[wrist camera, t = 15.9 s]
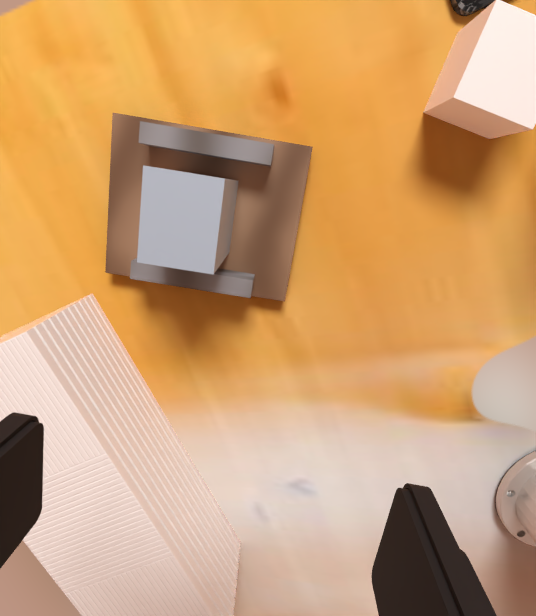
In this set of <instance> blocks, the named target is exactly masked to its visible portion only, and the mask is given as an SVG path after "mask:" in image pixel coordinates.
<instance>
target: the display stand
mask: <svg viewBox="0 0 536 616" xmlns="http://www.w3.org/2000/svg"><path fill="white" fill-rule="evenodd" d="M311 152H312V147H310V146H304V145H299V144H293V143H287V142H281V141H275V140H269V139H264V138H258V137H252V136H246V135H240V134H234V133H228V132H223V131H217V130H211V129H205V128H199V127H193V126H188V125H182V124H176V123H170V122H164V121H158V120H152V119H147V118H141V117H135V116H129V115H123V114H117V113H113V120H112V142H111V164H110V186H109V208H108V229H107V251H106V273H112V274H118V275H124V276H130V279H135V280H141V281H147V282H154V283H160V284H166V285H172V286H178V287H185V288H191V289H197V290H203V291H209V292H216V293H222V294H228V295H234V296H241V297H247V298H251V296H254V297H260V298H267V299H273V300H279V301H285V297H286V291H287V286H288V280H289V275H290V269H291V263H292V258H293V252H294V247H295V241H296V236H297V230H298V224H299V219H300V213H301V208H302V202H303V197H304V191H305V186H306V180H307V174H308V169H309V163H310V158H311ZM143 165H144V166H150V167H157V168H163V169H169V170H176V171H182V172H188V173H194V174H200V175H206V176H212V177H218V178H225V179H231V180H237V181H238V189H237V197H236V204H235V212H234V220H233V227H232V235H231V243H230V251H229V254H228V255H227V257H226V258H225V259H224V261H223V262H222V263H221V265H220V266H219V268H218V269H217V270H216V272H215V273H214V274H207V273H201V272H194V271H188V270H182V269H176V268H169V267H163V266H157V265H150V264H144V263H138V262H137V254H138V238H139V223H140V207H141V192H142V176H143Z"/></svg>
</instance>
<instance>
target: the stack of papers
mask: <svg viewBox="0 0 536 616" xmlns="http://www.w3.org/2000/svg"><path fill="white" fill-rule="evenodd" d="M14 412H16V413H21V414H27V415H32V416H36V417H37V418H38V420H39V423H42V424H43V426H44V447H43V492H42V510H41V514H40V516H39V518H38V520H37V522H36V523H35V525H34V526H33V527H32V528H31V530H30V531H29V532H28V534H27V535H26V536H25V537H24V539H23V541H24V542H25V544H26V545H27V546H28V547H29V549H30V550H31V551H32V553H33V554H34V555H35V557H36V558H37V559H38V560H39V562H40V563H41V564H42V566H43V567H44V568H45V569H46V571H47V572H48V573H49V575H50V576H51V577H52V578H53V579H54V581H55V582H56V584H57V585H58V586H59V587H60V589H61V590H62V591H63V592H64V594H65V595H66V596H67V598H68V599H69V600H70V601H71V603H72V604H73V605H74V607H75V608H76V609H77V610H78V612H79V613H80V614H81V616H234V609H233V608H234V607H235V599H234V598H236V590H235V589H236V588H237V581H236V580H237V578H238V572H237V571H238V568H239V564H238V563H239V558H240V557H239V555H240V547H241V541H240V540H239V538H238V536H237V535H236V533H235V531H234V530H233V528H232V526H231V525H230V523H229V521H228V520H227V518H226V516H225V515H224V513H223V511H222V510H221V508H220V506H219V505H218V503H217V501H216V500H215V498H214V496H213V495H212V493H211V491H210V489H209V488H208V486H207V484H206V483H205V481H204V479H203V478H202V476H201V474H200V473H199V471H198V469H197V468H196V466H195V464H194V463H193V461H192V459H191V458H190V456H189V454H188V453H187V451H186V449H185V448H184V446H183V444H182V443H181V441H180V439H179V438H178V436H177V434H176V433H175V431H174V429H173V427H172V426H171V424H170V422H169V421H168V419H167V417H166V416H165V414H164V412H163V411H162V409H161V407H160V406H159V404H158V402H157V401H156V399H155V397H154V396H153V394H152V392H151V391H150V389H149V387H148V386H147V384H146V382H145V381H144V379H143V377H142V376H141V374H140V372H139V370H138V369H137V367H136V365H135V364H134V362H133V360H132V359H131V357H130V355H129V354H128V352H127V350H126V349H125V347H124V345H123V344H122V342H121V340H120V339H119V337H118V335H117V334H116V332H115V330H114V329H113V327H112V325H111V324H110V322H109V320H108V319H107V317H106V315H105V313H104V312H103V310H102V308H101V307H100V305H99V303H98V302H97V300H96V298H95V297H94V295H93V293H92V294H90V295H88V296H85V297H83V298H81V299H79V300H77V301H75V302H73V303H71V304H68V305H66V306H64V307H62V308H60V309H58V310H56V311H54V312H51V313H49V314H47V315H45V316H43V317H41V318H39V319H37V320H34V321H32V322H30V323H28V324H26V325H24V326H22V327H20V328H17V329H15V330H13V331H11V332H9V333H7V334H5V335H3V336H0V421H1V420H3V419H4V418H5V417H7V416H8V415H9V414H11V413H14Z"/></svg>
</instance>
